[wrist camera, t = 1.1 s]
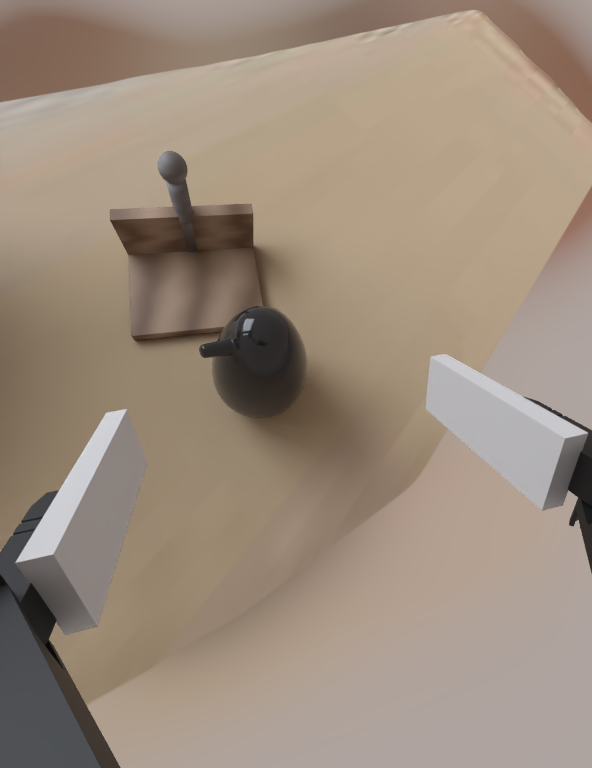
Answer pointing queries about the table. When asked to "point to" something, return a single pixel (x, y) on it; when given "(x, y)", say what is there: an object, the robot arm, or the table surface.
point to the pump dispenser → (258, 362)
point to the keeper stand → (187, 261)
